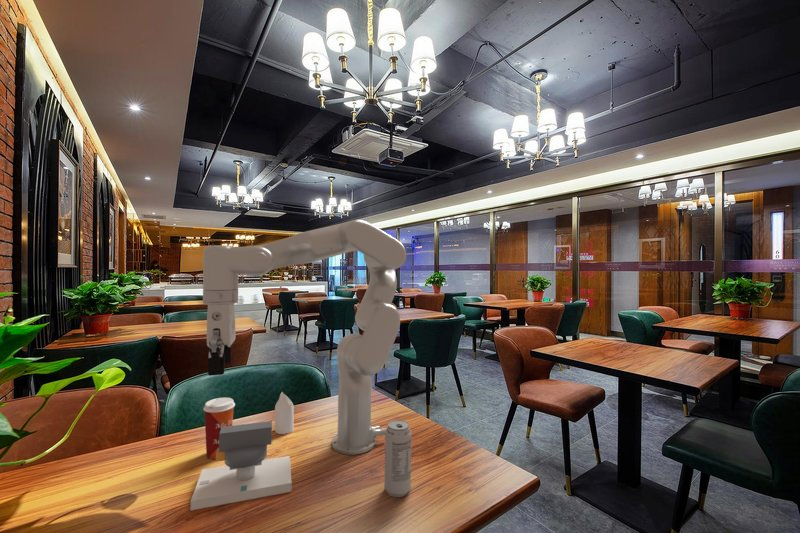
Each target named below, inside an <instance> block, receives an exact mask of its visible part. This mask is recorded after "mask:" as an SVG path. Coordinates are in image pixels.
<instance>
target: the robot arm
mask: <svg viewBox="0 0 800 533" xmlns="http://www.w3.org/2000/svg"><path fill="white" fill-rule="evenodd" d="M354 251H355V252H357V251H358V252H360V253H361V254H363V260H364V263H365V265H366V266H367V268H368V272H369V283H368V285H367V288H366V291H365V293H364V295H363V298H362V300H361V302H360V304H359V306H358V309H357V311H356V313H355V315H354V316H355V319H354V320H355V324H356V326H357V327H358V328H359V329H360V330H362V331H363V334H360V333H349V334H347V335H345V336H344V337H342V338H341V339H340V341H339V342H338V344H337V349H336V362H337V363H336V364H337V373H338V391H337V393H338V394H337V395H338V397H337V398H338V400H337V434H336V435H335V436H333V438H332V441H331V446H332V448H333V450H335V451H336V452H338V453H340V454H344V455H350V456H351V455H361V454H364V453H367V452H369V451H371V450H372V449H373V448H374V447H375V446H376V443H377V441H376V440H377V439H376V438H377V437H378V436H380V437H382V436H385V431H386V429H387V428H386V427H382V428H381V426H380V425H375V426H372V425H371V424H372V422H371V421H372V383H373V382H372V376H374V375H376V374H377V373H379V372H380V371H381V370H382V369H383V367H384V365H385V364H386V362H387V360H388V358H389V355H390V352H391V350H392V347H393V346H394V343H395V340H396V339H397V336H398V333H399V330H400V326H401V316H400V313H399V311H398V308H396V307H395V305H393V304H392V303H393V300H394V297H395V294H396V291H397V288H398V281H397V275H396V272H395V270H398V269H399V268H401V267H402V266H403V265H404V264H405V262H406V259H407V252H406V248H405V246H404V245H403V244H402V242H400V240H398V239H396V238H395V237H393V236H392V235H390V234H388V233H386V232H385V231H384V230H382V229H380V228H378V227H377V226H375V225H373V224H371V223H370V222H368V221H366V220H363V219H360V218H359V219H358V218H357V219H352V220H350V221H345V222H342V223H338V224H332V225H329V226H325V227H320V228H316V229H315V228H314V229H311V230H306V231H303V232H300V233H297V234H294V235H292V236H289V237H286V238H283V239H279V240H275V241H272V242H267V243H263V244H259V245H248V246H232V245H218V244H217V245H215V244H214V245H208V246H206V247H205V248H204V250H203V255H202V256H203V257H202V260H203V261H202V262H203V263H202V264H203V265H202V266H203V268H202V270H203V271H202V273H203V274H202V277H203V278H202V286H203V287H202V304H203V305H207V313H206V345H207V347H208V348H209V350H208V359H207V375H208V376H209V377H211V376H222V375H224V374H225V364H231V362H232V347H231V346H232V344H234V342H235V340H236V336H237V335H236V333H237V332H236V311H235V310H236V309H235V304H238V303H239V275H242V276H243V275H244V276H251V277H260V276H264V275H266V274H268V273H269V272H270V271H273V270H277V269H281V268H284V267H289V266H295V265H305V264H311V263H315V262H319V261H321V260H325V259H329V258H332V257H336V256H340V255H343V254H347V253H351V252H354Z"/></svg>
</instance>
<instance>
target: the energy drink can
mask: <svg viewBox="0 0 800 533" xmlns="http://www.w3.org/2000/svg"><path fill="white" fill-rule="evenodd" d="M384 438H385V440H384V441H385V442H384V443H385V444H384V485H383V486H384V490H385V492H386V493H387V495H389V496H390V497H392V498H401V497H404V496H406V495H407V494H408V492H409V491H410V490H411V487H412V483H411V482H412V481H411V478H412V430H411V428H410V424H409V423H408V422H407V421H405V420H403V419H402V420H399V419H396V420H391V421H390V422H388V424H387V428H386V431H385V435H384Z"/></svg>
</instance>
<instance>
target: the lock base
mask: <svg viewBox="0 0 800 533" xmlns="http://www.w3.org/2000/svg"><path fill="white" fill-rule="evenodd" d="M290 457H291V456H290V455H287V456H281V457H274V458H267V459H266V458H265V459H264V460H263V461H261V462H260V463H258V464H256V465H253V466H250V467H245V468H231V467H228V466H227V465H221V466H216V467H207V468H202V469H201V471H200V474H199V477H198V480H197V483H196V486H195V488H194V491H193V494H192V496H191V499H190V507H189V508H190V510H189V511H195V510H201V509H205V508H210V507H212V508H213V507H217V506H222V505H228V504H231V503H238V502H244V501H248V500H254V499H255V500H256V499H259V498H260V499H261V498H264V497H270V496H276V495H280V494H286V493H291V492H292V487H293V486H292V482H293V481H292V470H291V469H292V467H291V458H290Z"/></svg>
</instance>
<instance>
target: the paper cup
mask: <svg viewBox="0 0 800 533" xmlns="http://www.w3.org/2000/svg"><path fill="white" fill-rule="evenodd" d="M235 406H236V403H235V402H234V399H233V398H231V397H217V398H213V399H210V400H208V401H207V402H205V404H204V406H203V408H202V409H203V411H204V425H205V426H204V427H205V429H204V430H205V431H204V432H205V449H206V450H205V451H206V457H207V459H209V460H216V451H217V449H218V448H219V433H220V431H221V428H222V427H226V426H233V421H234V410H235Z"/></svg>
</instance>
